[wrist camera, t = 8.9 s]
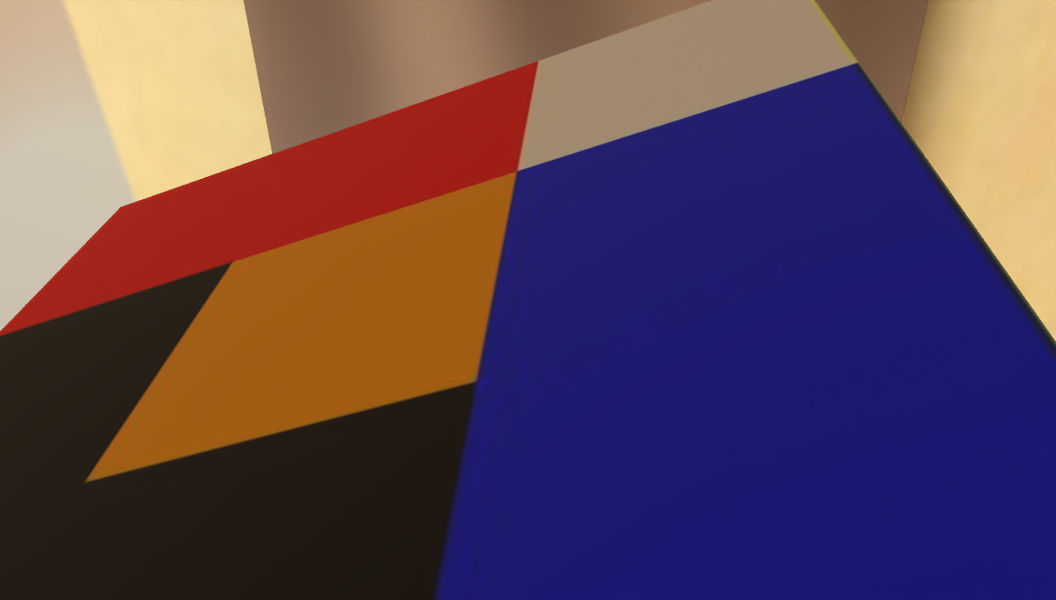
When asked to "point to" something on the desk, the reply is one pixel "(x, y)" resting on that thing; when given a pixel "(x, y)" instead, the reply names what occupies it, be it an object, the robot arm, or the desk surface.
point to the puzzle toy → (547, 354)
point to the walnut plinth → (485, 49)
